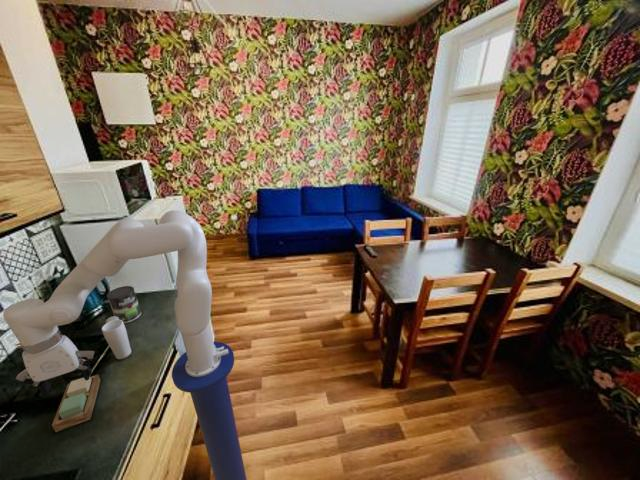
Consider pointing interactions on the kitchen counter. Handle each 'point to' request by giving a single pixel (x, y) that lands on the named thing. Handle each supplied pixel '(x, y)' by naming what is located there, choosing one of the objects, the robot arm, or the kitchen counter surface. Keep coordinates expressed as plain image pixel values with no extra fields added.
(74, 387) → the cream pad
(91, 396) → the pad frame
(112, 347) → the drinking glass
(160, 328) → the kitchen counter surface
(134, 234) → the robot arm
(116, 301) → the coffee can
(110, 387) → the kitchen counter surface
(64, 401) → the sage pad
